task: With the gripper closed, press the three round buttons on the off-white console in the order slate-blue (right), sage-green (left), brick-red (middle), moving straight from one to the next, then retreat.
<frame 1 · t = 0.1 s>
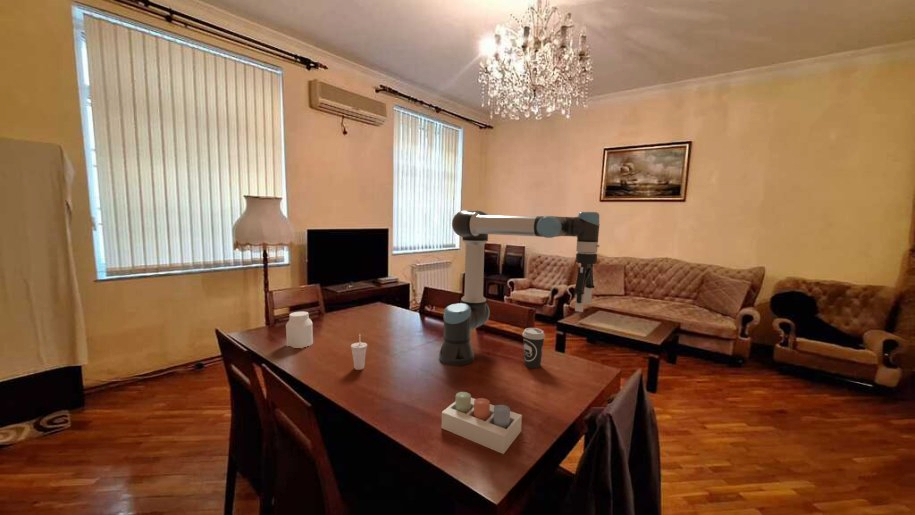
hand: (583, 307, 134), 28 cm above the table, fingers open, 13 cm apart
smoothie: (359, 368, 141), on the table
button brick: (481, 411, 101), point 6 cm above the table, slide at 0.0 cm
jar: (300, 344, 165), on the table
button slate: (501, 419, 98), point 6 cm above the table, slide at 0.0 cm
console: (481, 429, 102), on the table
coffee cup: (532, 365, 147), on the table
button sage: (463, 405, 104), point 6 cm above the table, slide at 0.0 cm
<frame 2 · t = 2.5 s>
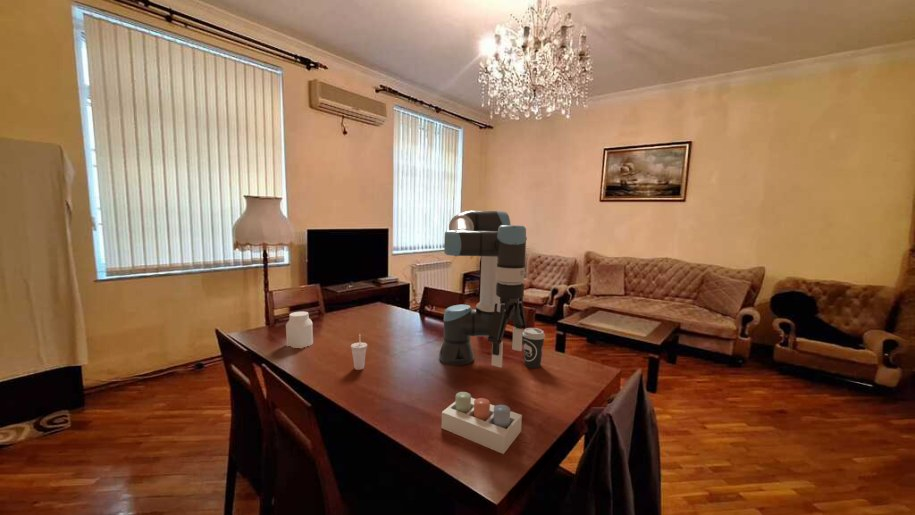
hand: (507, 357, 97), 23 cm above the table, fingers open, 13 cm apart
nothing on the table moved.
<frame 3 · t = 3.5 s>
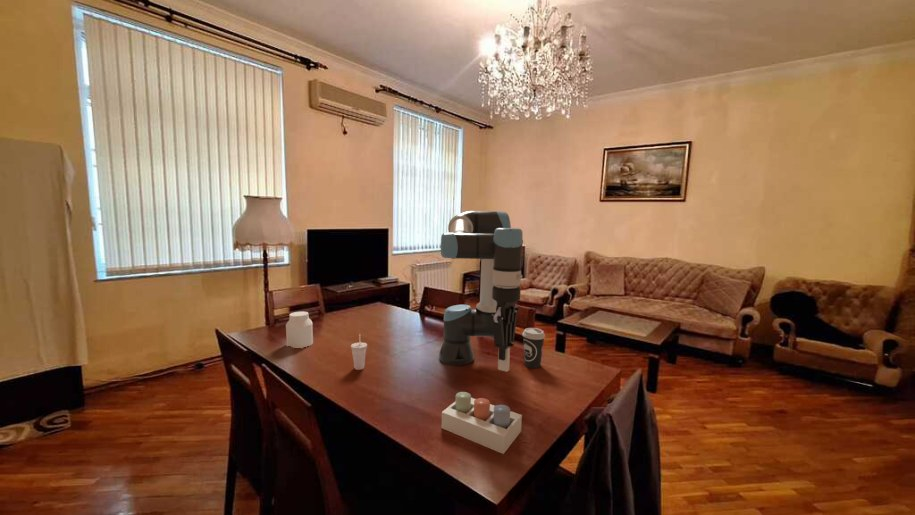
hand: (503, 369, 96), 20 cm above the table, fingers closed
nothing on the table moved.
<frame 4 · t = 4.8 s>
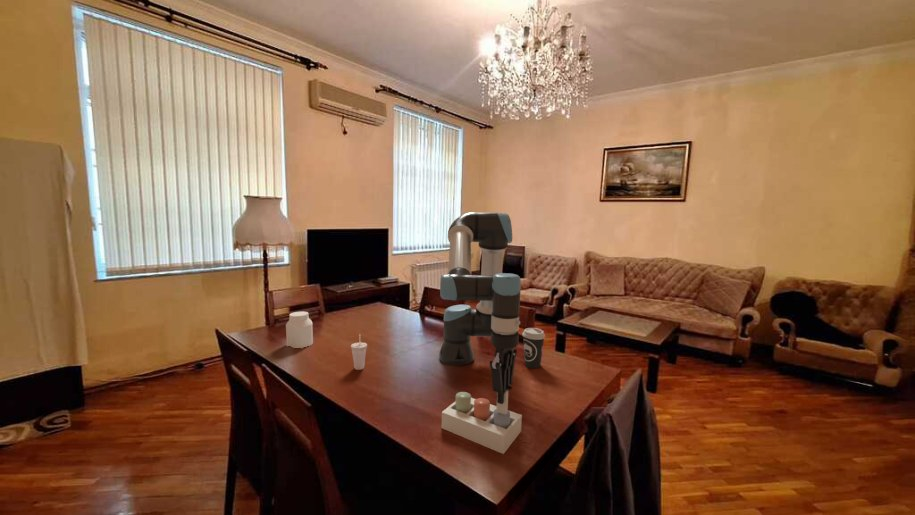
hand: (502, 412, 97), 8 cm above the table, fingers closed
button slate: (501, 422, 98), point 4 cm above the table, slide at 1.1 cm, touching gripper
everything else where it was.
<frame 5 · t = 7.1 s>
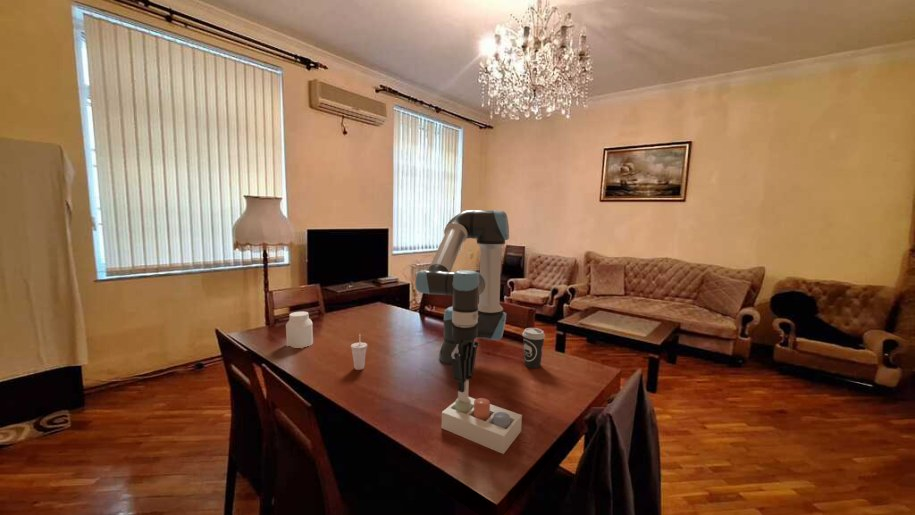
hand: (463, 400, 104), 7 cm above the table, fingers closed
button slate: (501, 426, 98), point 3 cm above the table, slide at 2.2 cm
button sage: (462, 410, 105), point 4 cm above the table, slide at 1.6 cm, touching gripper
everything else where it was.
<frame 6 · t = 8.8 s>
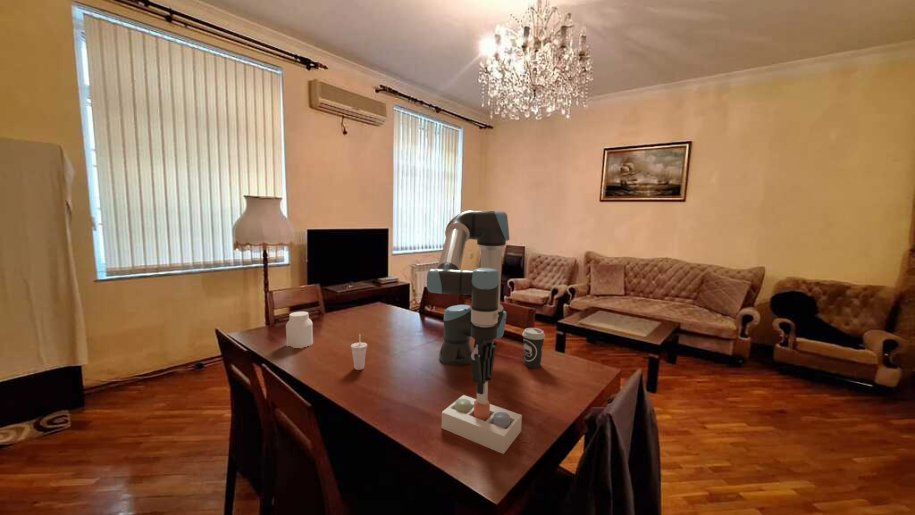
hand: (481, 402, 101), 8 cm above the table, fingers closed
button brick: (481, 412, 101), point 5 cm above the table, slide at 0.3 cm, touching gripper
button sage: (462, 412, 105), point 3 cm above the table, slide at 2.2 cm
everything else where it was.
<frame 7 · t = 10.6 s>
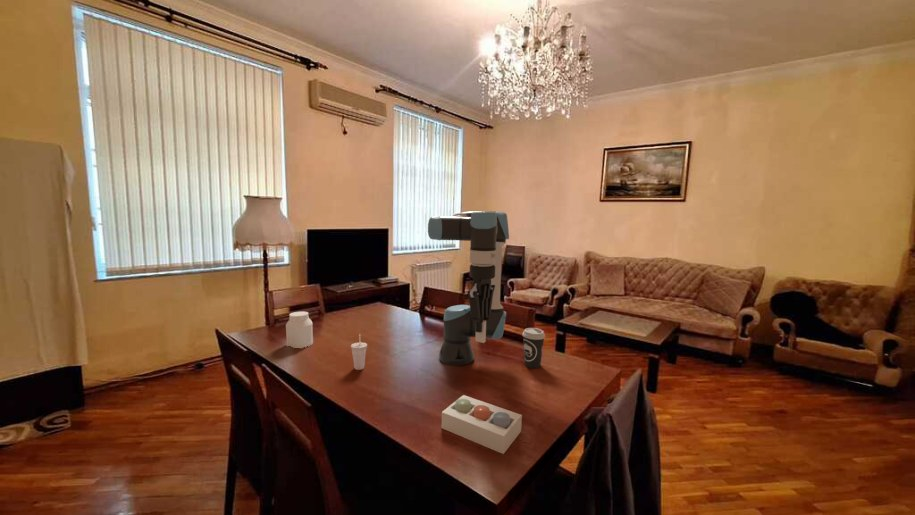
hand: (480, 341, 105), 25 cm above the table, fingers closed
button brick: (481, 419, 101), point 3 cm above the table, slide at 2.2 cm
everything else where it was.
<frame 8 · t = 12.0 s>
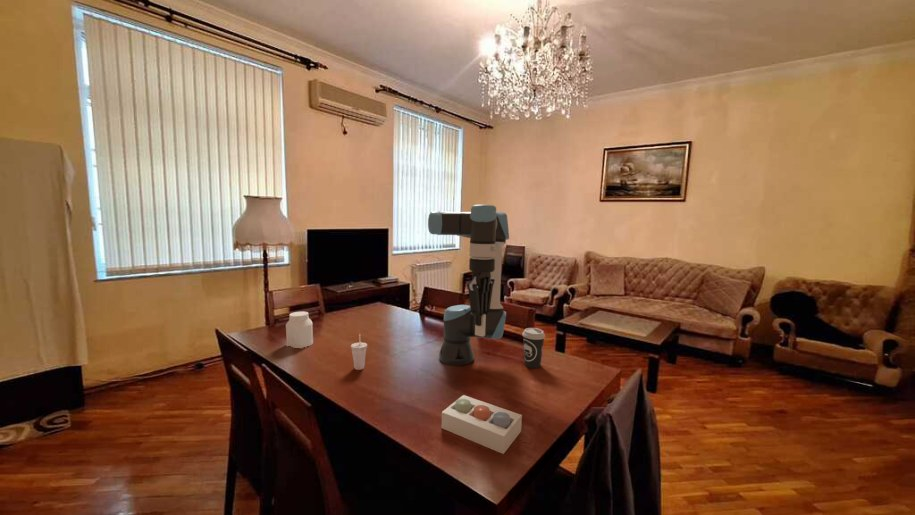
hand: (480, 335, 105), 26 cm above the table, fingers closed
nothing on the table moved.
at the end: button slate slide at 2.2 cm; button sage slide at 2.2 cm; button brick slide at 2.2 cm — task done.
